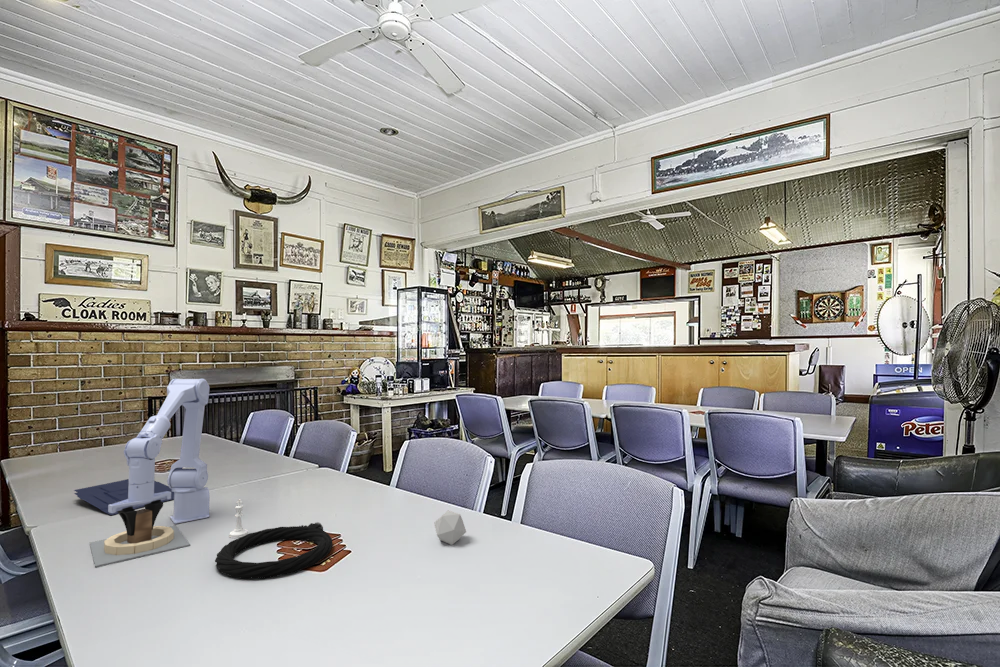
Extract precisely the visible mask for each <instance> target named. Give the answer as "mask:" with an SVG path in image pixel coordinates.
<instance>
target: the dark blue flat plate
mask: <svg viewBox="0 0 1000 667" xmlns="http://www.w3.org/2000/svg"><path fill="white" fill-rule="evenodd" d="M128 487H129V478H127V479H123V480H118V481H113V482H108V483H104V484H103V483H102V484H98V485H93V486H87V487H82V488H79V489H78V488H77V489H74V490H73V491H74V493H73V494H74V495H76V497H77V498H79V499H81V500H83V501H84V502H87V503H88V504H90V505H92V506H93V507H95V508H97V509H99V510H100V511H101V512H104V513H105V514H107V515H110V516H115V515H119V513H118V511H116V512H115V513H109V512H108V505H110V504H114V503H117V502H120V501H123V500H126V499H128ZM166 491H169V492H171V499H168V500H166V499H165V500H161V502H163V503H165V502H167V501H168V502H169V501H171V500H172V501H174V492H172V489H171V488H169V486H168V484H167V485H166V484H164V483H162V482H160V481H156V480H154V493H161V492H166ZM140 508H145V505H141V506H137V507H133V509H134V510H138V509H140Z"/></svg>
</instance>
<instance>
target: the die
mask: <svg viewBox="0 0 1000 667" xmlns="http://www.w3.org/2000/svg"><path fill="white" fill-rule="evenodd" d="M434 528H435V533H436V536H437V538H438V540H439V541H441V542H443V543H446V544H447V545H451V546H453V545H454V544H455V543H457V541H458V540H460V539H461V537H463V536H464V535H465V534H466V533H467V530H466V526H465V522H464V521H463V518H462V515H461V514H460V513H458V512H455V511H451V510H447V511H445V512H444V513H443V514H442V515H441V516H440V517H439V518H438V519H436V521H434Z"/></svg>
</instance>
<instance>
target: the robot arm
mask: <svg viewBox="0 0 1000 667" xmlns="http://www.w3.org/2000/svg"><path fill="white" fill-rule="evenodd" d="M168 383H169V384H168V385H167V387H166V395H167V396H166V398H165V400H164V402H163V403H162V405H161V406H160V408H159V410H158V412H157V414H156V415H152V416H150V417H149V418H148V419H147V421H146V423H145V424H144V426H143V427H142V429H141V430H140V431H139V433H137V435H136V437H133V438H132V439H130V440H128V441H127V442H126V444H125V446H124V449H123V455H124V458H125V459H126V465H127V466H128V479H129V487H128V499H126V500H123V501H120V502H117V503H114V504H110V505H108V512H109V513H115V512H116V511H118V515H119V516H120V518H121V520H122V521H123V524H124V526H125V529H126V530H125V531H127V535H129V536H133V535H134V531H135V518H136V514H137V510H136V509H133V507H137V506H141V505H145V506H144V509H148V510H151V511H152V530H153V526H155V522H156V520H157V518H158V515H159V513H160V511H161V509H162V508H163V507H164V502H161V500H165V499H166V500H168V499H171V492H169V491H166V492H161V493H154V481H155V473H156V472H155V468H156V465H155V464H156V463H155V462H156V458H157V457H158V456H159V454H160V452H161V450H162V449H161V448H162V447H161V446H162V445H163V439H164V437H165V435H166V434H167V432H168V430H169V429H170V428H171V425H172V424H171V422H170V420H171V419H172V417H173V416H175V415H174V414H176V413H177V411H178V410H179V409H180V407H184V408H185V411H184V419H183V421H184V422H183V428H182V429H183V430H182V437H181V438H182V440H181V448H180V455H179V459H178V460H176V461H175V462H174V463H172V465H171V466H170V471H169V473H168V476H167V480H166V482H167V486H169V488H171V489H172V492H174V499H173V515H170V516H169V518H170V520H171V521H172V523H173V524H174V525H176V524H177V525H178V524H181V523H187V522H190V521H191V522H192V521H196V520H203V519H206V518H210V489H209V487H207V486H206V485H207V483H208V480H209V472H208V464H207V462H205V461H203V460H202V459H201V458H200V453H201V452H200V451H201V444H202V432H203V424H204V416H205V408H206V407H205V406H206V405H208V403H209V397H210V395H209V394H210V385H209V382H208V381H207V380H206V379H205V378H172V379H171V380H170V381H169V382H168ZM168 501H169V500H168Z"/></svg>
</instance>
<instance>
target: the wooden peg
mask: <svg viewBox="0 0 1000 667" xmlns="http://www.w3.org/2000/svg"><path fill="white" fill-rule="evenodd" d="M136 511H137V514H136V518H135V531H134V535H133V536H129V535H127V543H130V544H132V543H139V542H144V541H149V540H151V539H152V511H151V510H148V509H145V508H141V509H136Z"/></svg>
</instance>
